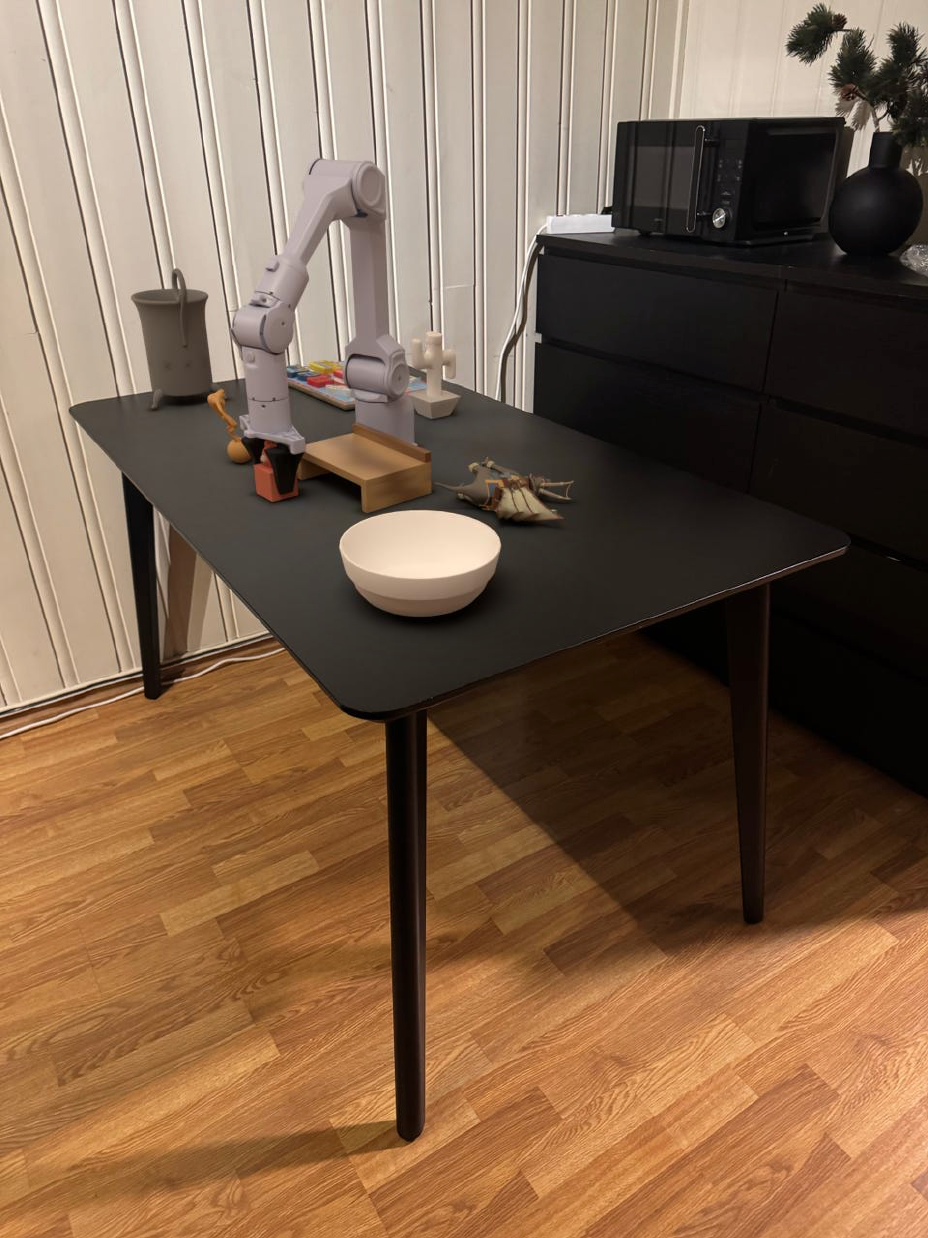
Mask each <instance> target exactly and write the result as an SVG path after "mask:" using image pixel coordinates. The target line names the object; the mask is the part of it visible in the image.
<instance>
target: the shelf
mask: <svg viewBox="0 0 928 1238" xmlns="http://www.w3.org/2000/svg"><path fill="white" fill-rule="evenodd" d="M305 444H306V452H305V453H304V455H303V456H302V458H301V460H300V463H299V466H298V469H297V473H296V474H297V479H298V480H300V481H304V480H309V479H311V478H314V477H318V476H322V475H326V474H330V473H333V474H335V475H337V476H339V477H342V478H343V479H345V480H347V481H350V482H352V483H354V484H355V485H358V486H360V489H361V490H360V491H361V511H362V512H364V513H366V514H370V513H373V512H376V511H380V510H382V509H385V508H386V509H387V508H388V507H392V506H396V505H398V504H401V503H405V502H408V501H411V500H414V499H417V498H421V497H423V496H426V495H430V494H432V450H428V449H426V448H423V447H420V446H418V445H417V446H416V445H414V444H411V443H409V442H406V441H404V440H401V439H399V438H396V437H394V436H391V435H389V434H386V433H384V432H381V431H379V430H376V429H374V428H371V427H369V426H366V425H364V424H361V423H359V422H358V423H356V422H354V423H352V432H351V433H347V434H343V435H339V436H335V437H329V438H327V439H326V438H325V439H323V440H318V441H314V442H310V443H305Z"/></svg>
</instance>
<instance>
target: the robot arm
mask: <svg viewBox="0 0 928 1238" xmlns="http://www.w3.org/2000/svg"><path fill="white" fill-rule="evenodd" d="M301 192H302V196H303V200H302V202H301V205H300V207H299V210H298V213H297V216H296V218H295V221H294V223H293V226H292V228H291V231H290V234H289V237H288V238H287V241H286V244H285V247H284V248H283V252H282V253H280V254H276V255H272V256H271V257H270V258H269V259H268V260H267V261H266V264H265V266H264V270H263V273H262V275H261V277H260V279H259V281H258V283H257V285H256V287H255V290H254V291H253V294H252V295H251V298H250V299H249V301H248V303H247V304H244V305H243V306H241V307H240V308H239V309H237V310H236V312H234V315H233V317H232V321H231V327H230V328H229V335H230V337H231V340H232V341H233V343H234V345H236V348H237V349H238V355H239V356H238V357H239V358H240V360H241V361H242V362H243V363H242V364H243V371H244V380H245V390H246V391H245V392H246V399H247V408H248V414H244V415H239V416H238V417H239V427H240V430H242V431H243V437H240V438H241V443H242V444H243V445H244V447H245V448H246V450H247V451H248V453H249V455H250V457H251V458H250V460H251V461H252V463H253V466H254V465H257V464H261V463H263V462H262V461H261V456H262V451H263V449H264V447H265V445H264V442H265V441H266V440H270V441H272V443H276V444H277V447H272V448H268V449H264V453H265V454H266V456H267V457H268V459H269V461H270V464H271V466H272V469H273V472H274V477H275V482H276V486H277V490H278V492H279V494H280V495H283V494H287V493H291V492H293V489H294V484H295V478H296V474H297V469H298V466H299V463H300V460H301V458H302V456H303V455H304V453H305V452H306V444H307V443H306V438H305V437H303V436H301V434H300V433H299V432H298V430H297V429H296V428H295V427H294V425H293V424H292V418H291V405H290V394H289V393H290V392H289V386H288V380H287V368H286V366H287V358H286V350H287V349H288V348H289V346H290V345H291V343H293V339H294V333H295V332H294V322H295V320H296V318H295V317H296V314H295V311H296V309H297V307H298V305H299V303H300V301H301V298H302V296H303V294H304V293H305V290H306V288H307V286H308V284H309V282H310V276H309V272H308V268H307V265H308V263H309V262H310V261H311V258H313V255H314V253H315V252H316V250H317V248H318V246H319V245H320V243H321V241H322V240H323V238H324V236H325V234H326V233H327V231H328V229H329V227H330V226H331V224H332V223H333V222H336V221H339V220H340V221H341V222H342V223H343V225H344V226H346V227H347V228H348V231H349V241H350V259H351V261H350V262H351V276H352V293H353V311H354V327H355V330H354V331H355V336H354V338H353V339H351V340H350V341H349V342H348V343H347V344H346V345H345V347H344V360H343V361H344V365H343V372H342V373H343V380H344V383H345V385H346V386H347V387H348V388H349V389H350V390H351V395H352V396H354V397H355V409H354V412H355V423H358V422H359V423H361V424H364V425H366V426H369V427H371V428H374V429H376V430H379V431H381V432H384V433H386V434H389V435H391V436H394V437H396V438H399V439H401V440H404V441H406V442H409V443H411V444H414V445H416V446H418V444H417V443H416V442H415V407H414V406H413V404H412V401H411V399H410V398H409V396H408V395H407V394H406V393H404V392H405V391H406V389H407V387H408V384H409V377H410V375H409V373H410V369H409V366H408V363H407V360H406V359H407V358H406V349H405V348H404V346H403V345H401V344H400V343H399V341H397V340H396V339H395V338H394V337H393V336H392V335H391V333H390V310H389V309H390V308H389V281H388V279H389V278H388V259H387V258H388V257H387V231H386V229H387V228H386V220H387V195H386V193H387V192H386V176H385V174H384V173H383V172H382V171H381V169H380V168H379V167H378V165H376V163H374V162H373V161H372V160H368V159H365V160H345V159H327V158H324V157H323V158H322V157H317V158H314V159H312V160H311V162H309V164H308V166H307V169H306V171H305V175H304V176H303V178H302V180H301Z"/></svg>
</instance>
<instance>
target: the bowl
mask: <svg viewBox="0 0 928 1238" xmlns="http://www.w3.org/2000/svg"><path fill="white" fill-rule="evenodd" d="M338 548H339V552H340V555H341V560H342V564H343V567H344V571H345V574H346V576H347V577H348V578H349V579H350V581H351V582H353V584H354V586H355V589H356V590H357V592H358V593H359V594H360V595H361V596H362V597H363V598H364V599H365V600H366V601H367V602H369V603H370V604H371V605H373V606H374V607H376V608H378V609H379V610H382V611H384V612H386V613H390V614H393V615H398V616H403V617H411V618H413V617H414V618H426V617H427V618H428V617H429V618H430V617H436V616H437V617H438V616H442V615H447V614H451V613H454V612H456V611H459V610H461V609H463V608H465V607H467V606H468V605H470V604H471V603H472V602H473V601H474V600H475V599H476V598H478V596H480V595H481V593H483V591H485V588H486V587H487V585H488V582H489V581H490V580H491V579H492V578H493V576H494V575H495V573H496V569H497V566H498V565H497V564H498V561H499V557H500V554H501V549H502V543H501V539H500V537H499V536H498V534H497V532H496V531H495V530H494V529H492V527H490V526H489V525H487V524H486V523H484V522H482V521H480V520H478V519H474V518H472V517H470V516H467V515H463V514H460V513H459V514H458V513H454V512H448V511H441V510H431V509H429V510H427V509H420V510H418V509H417V510H415V509H414V510H411V509H410V510H401V511H400V510H399V511H393V512H386V513H381V514H378V515H375V516H371V517H369V518H366V519H363V520H360V521H358V522H357V523H355V524H354V525H351V526H350V527H349V528H348V529H347V530H345V532H343V535H342V536H341V538H340V540H339V547H338Z"/></svg>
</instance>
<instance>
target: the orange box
mask: <svg viewBox="0 0 928 1238" xmlns="http://www.w3.org/2000/svg"><path fill="white" fill-rule="evenodd" d="M264 445H265V447H264V449H268V448H272V447H277V444H276V443H272V441H270V440H266V441H265V442H264ZM264 449H263V451H262V456H261V461H262V462H263V463H261V464H257V465H254V464H253V470H254V471H253V472H254V479H255V480H254V481H255V490H256V494H257V495H258V496H261V497H262V498H264V499H266V500H268V501H269V502H272V503H274V502H278V501H281V500H285V499H289V498H293V497H295V496H298V495H299V488H298V477H297V473H296V478H295V484H294V489H293V492H291V493H287V494H283V495H280V494H279V492H278V490H277V486H276V482H275V477H274V472H273V469H272V466H271V464H270V461H269V459H268V457H267V456H266V454H265V453H264Z"/></svg>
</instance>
